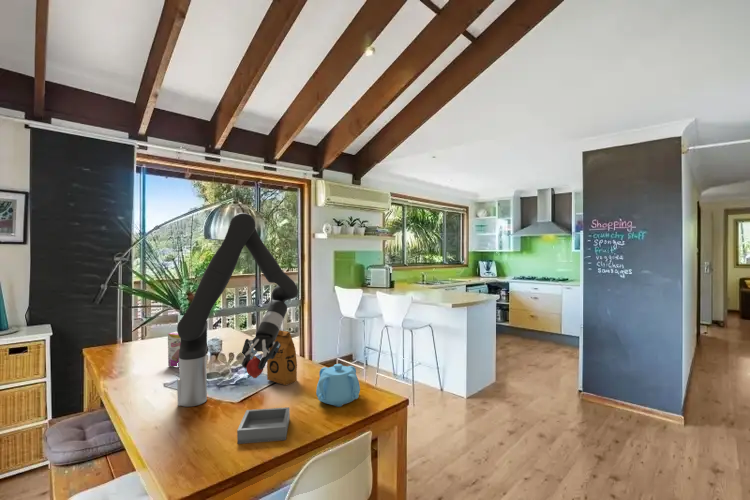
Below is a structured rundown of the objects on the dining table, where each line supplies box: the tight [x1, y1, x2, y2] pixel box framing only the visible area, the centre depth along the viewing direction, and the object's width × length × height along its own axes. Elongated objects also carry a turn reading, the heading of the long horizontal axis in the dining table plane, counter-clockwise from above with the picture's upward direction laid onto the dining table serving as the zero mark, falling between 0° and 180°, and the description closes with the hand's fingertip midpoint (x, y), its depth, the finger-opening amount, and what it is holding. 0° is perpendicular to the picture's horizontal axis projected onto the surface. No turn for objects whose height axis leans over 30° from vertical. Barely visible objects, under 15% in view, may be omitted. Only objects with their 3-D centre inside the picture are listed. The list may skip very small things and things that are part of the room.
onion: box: [245, 355, 264, 379], centre depth 135 cm, size 6×6×8 cm
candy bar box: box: [167, 331, 181, 366], centre depth 185 cm, size 11×5×16 cm, turn 71°
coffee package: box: [266, 329, 298, 386], centre depth 164 cm, size 10×12×22 cm
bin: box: [236, 406, 291, 445], centre depth 121 cm, size 14×14×4 cm
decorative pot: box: [316, 363, 361, 408], centre depth 144 cm, size 16×16×14 cm
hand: (252, 367), depth 133 cm, fingers closed on onion, 5 cm apart
